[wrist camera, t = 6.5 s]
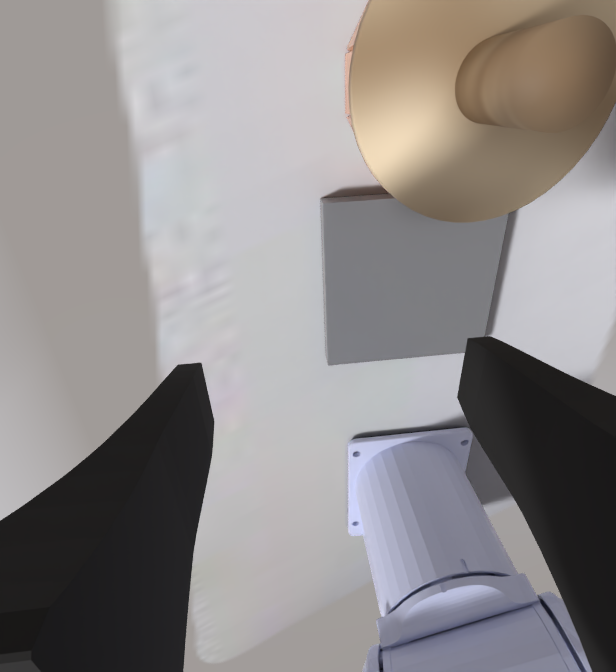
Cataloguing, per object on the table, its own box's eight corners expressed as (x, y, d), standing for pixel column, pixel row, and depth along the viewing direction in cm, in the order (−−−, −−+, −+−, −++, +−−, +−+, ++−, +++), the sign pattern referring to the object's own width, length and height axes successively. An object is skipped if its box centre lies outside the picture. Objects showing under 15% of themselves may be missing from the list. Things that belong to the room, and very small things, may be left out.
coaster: (473, 341, 23) (481, 350, 22) (325, 355, 23) (327, 365, 22) (502, 185, 19) (513, 189, 18) (320, 198, 18) (322, 203, 18)
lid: (570, 209, 16) (667, 246, 12) (347, 224, 16) (374, 267, 12) (659, -109, 12) (857, -211, 8) (349, -103, 11) (396, -209, 7)
